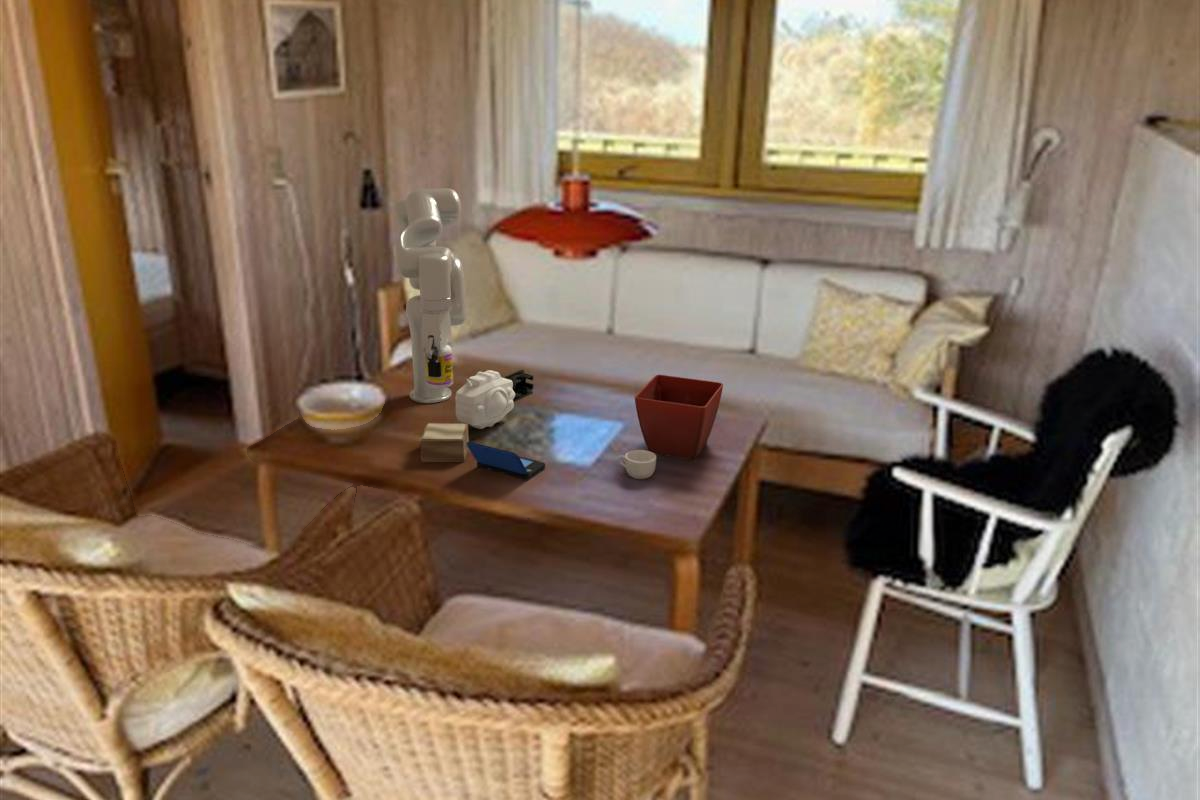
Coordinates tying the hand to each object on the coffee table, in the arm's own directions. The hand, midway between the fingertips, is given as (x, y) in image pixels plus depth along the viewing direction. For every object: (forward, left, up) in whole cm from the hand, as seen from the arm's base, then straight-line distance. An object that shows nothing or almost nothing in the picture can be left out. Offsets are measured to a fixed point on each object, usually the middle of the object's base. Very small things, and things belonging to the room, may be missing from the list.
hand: (439, 371), depth 235 cm
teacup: (+4, +51, -23) cm, 57 cm away
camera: (-20, +6, -23) cm, 31 cm away
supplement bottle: (0, 0, -4) cm, 4 cm away
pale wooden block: (0, 0, -23) cm, 23 cm away
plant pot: (-14, +60, -23) cm, 66 cm away
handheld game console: (+7, +19, -23) cm, 31 cm away
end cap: (-45, +8, -23) cm, 51 cm away
